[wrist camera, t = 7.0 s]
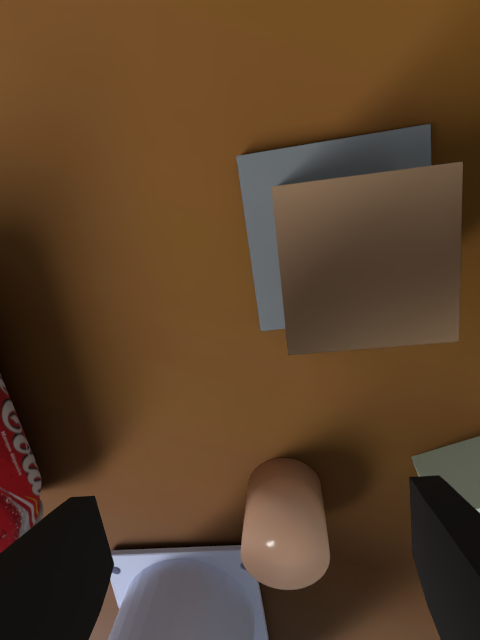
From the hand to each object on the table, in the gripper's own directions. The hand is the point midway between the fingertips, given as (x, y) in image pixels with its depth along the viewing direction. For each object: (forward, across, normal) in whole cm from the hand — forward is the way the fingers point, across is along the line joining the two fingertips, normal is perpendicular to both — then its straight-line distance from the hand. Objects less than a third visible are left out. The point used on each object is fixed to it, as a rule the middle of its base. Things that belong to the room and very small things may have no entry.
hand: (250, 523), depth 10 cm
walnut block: (+9, -4, -5) cm, 11 cm away
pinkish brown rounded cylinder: (+10, 0, +7) cm, 12 cm away
